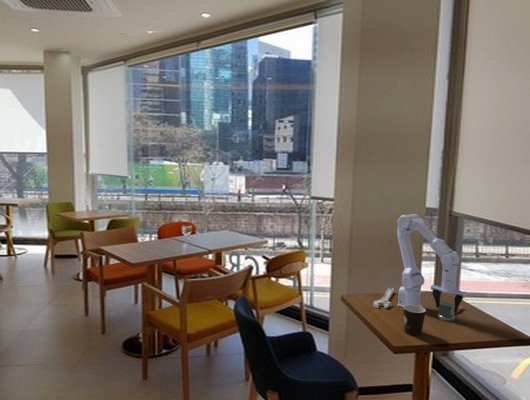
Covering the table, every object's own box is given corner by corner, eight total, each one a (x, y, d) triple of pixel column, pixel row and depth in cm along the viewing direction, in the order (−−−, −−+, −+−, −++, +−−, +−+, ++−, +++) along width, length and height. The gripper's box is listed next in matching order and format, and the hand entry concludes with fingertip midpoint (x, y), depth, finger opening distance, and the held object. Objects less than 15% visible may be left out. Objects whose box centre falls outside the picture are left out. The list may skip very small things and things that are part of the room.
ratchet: (434, 318, 184) (435, 308, 184) (451, 306, 200) (452, 296, 200) (451, 323, 179) (452, 312, 179) (467, 310, 195) (468, 300, 195)
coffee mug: (424, 338, 163) (426, 314, 162) (401, 334, 166) (402, 310, 165) (423, 327, 174) (425, 304, 173) (402, 324, 177) (403, 301, 176)
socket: (438, 315, 184) (439, 304, 183) (442, 312, 188) (443, 301, 187) (449, 318, 181) (450, 307, 180) (453, 315, 184) (454, 304, 184)
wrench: (399, 289, 219) (389, 306, 192) (399, 292, 219) (389, 310, 192) (383, 286, 222) (372, 303, 195) (383, 289, 222) (372, 307, 195)
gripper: (428, 277, 184) (426, 307, 186) (463, 284, 175) (461, 316, 176) (434, 274, 190) (432, 303, 191) (468, 281, 180) (466, 311, 181)
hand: (446, 309), depth 184 cm, fingers open, 7 cm apart
